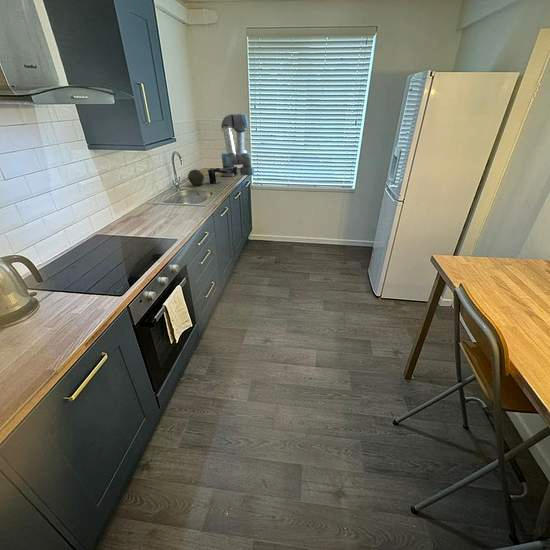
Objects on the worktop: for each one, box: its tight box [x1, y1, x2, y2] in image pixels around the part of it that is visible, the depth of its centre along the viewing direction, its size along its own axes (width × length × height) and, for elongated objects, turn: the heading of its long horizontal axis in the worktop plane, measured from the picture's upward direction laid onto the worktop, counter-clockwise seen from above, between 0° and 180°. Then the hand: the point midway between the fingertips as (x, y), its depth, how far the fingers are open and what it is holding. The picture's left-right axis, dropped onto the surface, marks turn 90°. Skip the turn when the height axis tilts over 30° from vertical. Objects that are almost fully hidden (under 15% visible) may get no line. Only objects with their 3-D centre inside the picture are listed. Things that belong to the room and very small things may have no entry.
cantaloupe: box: [187, 169, 205, 187], centre depth 275 cm, size 14×14×15 cm
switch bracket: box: [205, 168, 221, 185], centre depth 281 cm, size 11×9×13 cm
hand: (215, 170), depth 277 cm, fingers closed on lever, 4 cm apart
